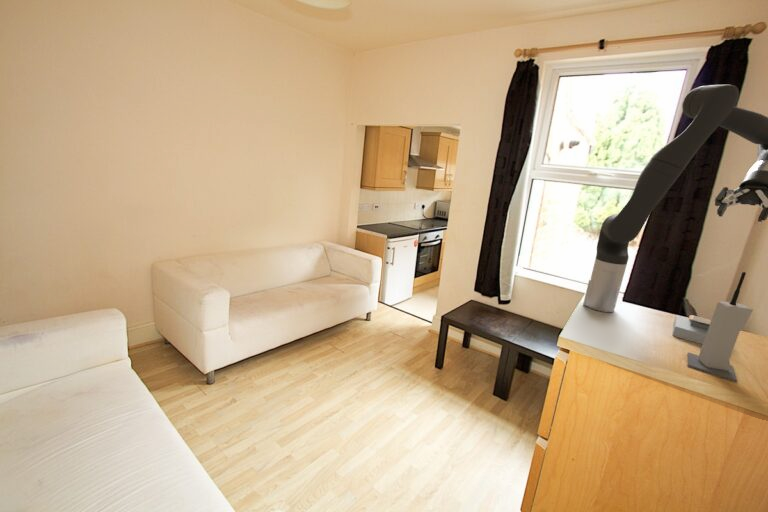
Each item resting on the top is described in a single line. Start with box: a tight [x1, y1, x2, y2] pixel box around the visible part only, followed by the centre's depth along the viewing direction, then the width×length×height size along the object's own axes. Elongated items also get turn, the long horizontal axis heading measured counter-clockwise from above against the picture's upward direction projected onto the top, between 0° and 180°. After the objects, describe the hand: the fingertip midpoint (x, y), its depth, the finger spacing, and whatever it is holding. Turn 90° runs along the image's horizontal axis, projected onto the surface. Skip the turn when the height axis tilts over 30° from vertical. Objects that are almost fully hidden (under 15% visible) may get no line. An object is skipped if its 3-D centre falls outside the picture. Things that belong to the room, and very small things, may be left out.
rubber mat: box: [686, 352, 738, 383], centre depth 89 cm, size 9×9×1 cm
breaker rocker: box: [688, 314, 712, 324], centre depth 107 cm, size 6×12×1 cm, turn 140°
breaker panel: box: [672, 314, 710, 345], centre depth 107 cm, size 12×13×4 cm
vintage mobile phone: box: [698, 271, 754, 371], centre depth 86 cm, size 4×5×25 cm
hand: (739, 217), depth 102 cm, fingers open, 8 cm apart
